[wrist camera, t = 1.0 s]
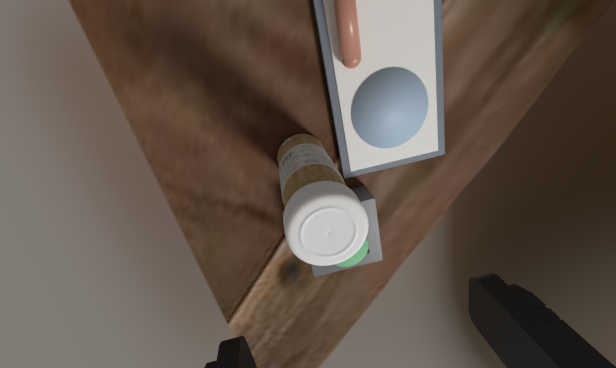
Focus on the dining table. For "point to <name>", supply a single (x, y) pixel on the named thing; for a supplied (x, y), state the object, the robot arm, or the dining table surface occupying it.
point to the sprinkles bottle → (318, 204)
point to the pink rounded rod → (348, 32)
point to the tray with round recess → (386, 84)
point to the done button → (356, 256)
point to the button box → (372, 237)
